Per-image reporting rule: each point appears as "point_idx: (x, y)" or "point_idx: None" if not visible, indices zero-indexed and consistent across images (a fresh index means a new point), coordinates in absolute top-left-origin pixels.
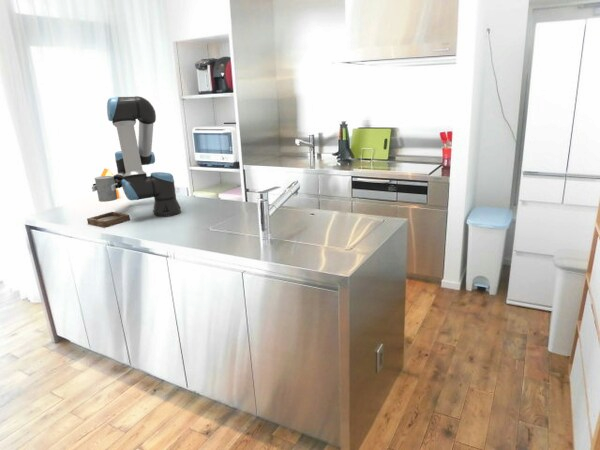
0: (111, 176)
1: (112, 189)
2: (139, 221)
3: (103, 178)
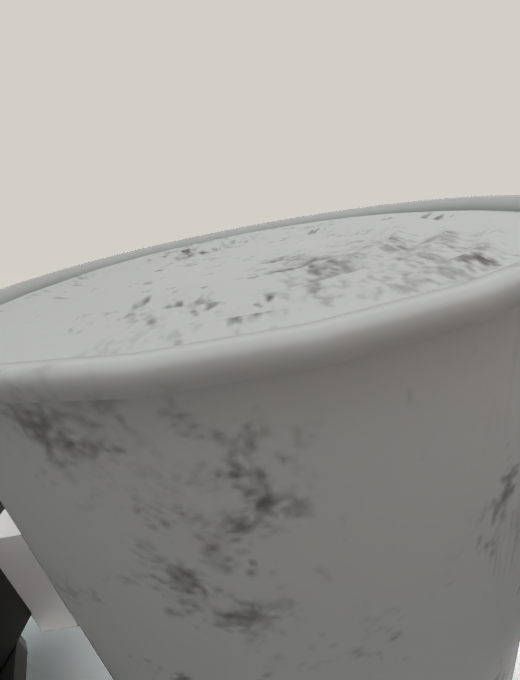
0: (14, 327)
1: None
2: (47, 636)
3: (218, 243)
